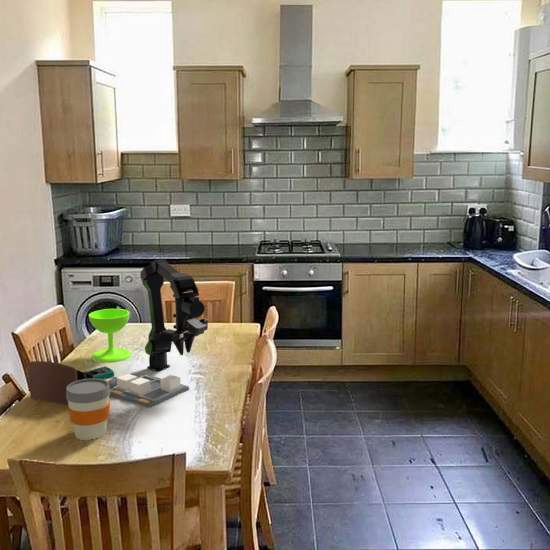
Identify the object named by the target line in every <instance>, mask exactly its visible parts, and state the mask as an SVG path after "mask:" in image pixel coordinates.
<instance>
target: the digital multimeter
mask: <svg viewBox="0 0 550 550" xmlns="http://www.w3.org/2000/svg"><path fill="white" fill-rule="evenodd" d="M84 372H86V373H89V374H92V375H93V376H94V378H95V379H103V380H106V379H111V378H113V377H115V370H113V369H111V368H110V367H108V366H100V367H98V368H93V369H89V370H86V371H84ZM105 378H106V379H105Z"/></svg>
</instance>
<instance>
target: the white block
mask: <svg viewBox="0 0 550 550" xmlns="http://www.w3.org/2000/svg"><path fill="white" fill-rule="evenodd" d="M137 378H138V376H136V375H133V374H130V373H126V374H124V375H122V376H121V375H120V376H119V377H117V384H116V385H117V387H118V388H120V389H123V390H127V391H128V390H130V382H131V381H134V380H136V379H137Z"/></svg>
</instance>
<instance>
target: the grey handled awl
mask: <svg viewBox="0 0 550 550" xmlns="http://www.w3.org/2000/svg"><path fill="white" fill-rule="evenodd" d="M117 378H118V377H117V376H114V377H111V378H109V380H107V381H108V383H109V388H110V389H113V387H115V385H117Z"/></svg>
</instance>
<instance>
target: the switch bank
mask: <svg viewBox="0 0 550 550" xmlns="http://www.w3.org/2000/svg"><path fill="white" fill-rule="evenodd" d="M139 378H144V379H147V380H150V387H151V391H149V392H147V393H144V394H142V395H139V394H136V393H133V392H130V390H128V391H127V390H123V389H120V388H118V387H117V386H113V387H112V389H110V395H109V396H113V397H116V398H119V399H121V400H124V401H127V402H131V403H134V404H137V405H139V406H143V407H145V406H146V408H149V407H150V408H152V406H153V407H155V406H157V405H159V404H161V403H163V402H166V401H167V400H170V399H172V398H174V397H177V396H178V394H179V395H181V394H182V392H183V393H185V392H188V391H189V390H190V386H189V385H186V384H185V385H184V384H182V383H180V385H181V387H180V388H178V389H175V390H173V391H171V392H167V391H163V390H161V380H160V379H161V378H162V377H158V376H154V375H150V374H148V375H147V374H144V375H141V376H139V377H137V379H139ZM180 393H181V394H180ZM171 397H172V398H171ZM169 398H170V399H169ZM165 400H166V401H165Z"/></svg>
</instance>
